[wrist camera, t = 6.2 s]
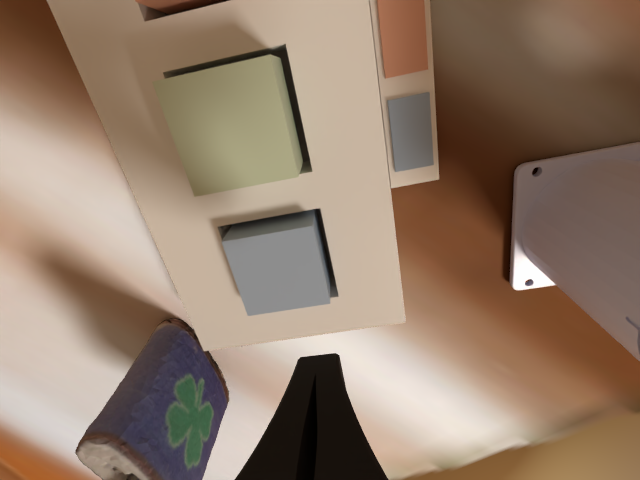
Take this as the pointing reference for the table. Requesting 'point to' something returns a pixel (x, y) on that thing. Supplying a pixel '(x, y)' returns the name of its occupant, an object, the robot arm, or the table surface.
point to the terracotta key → (175, 4)
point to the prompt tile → (406, 88)
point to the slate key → (279, 262)
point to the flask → (160, 413)
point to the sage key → (232, 125)
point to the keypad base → (265, 199)
